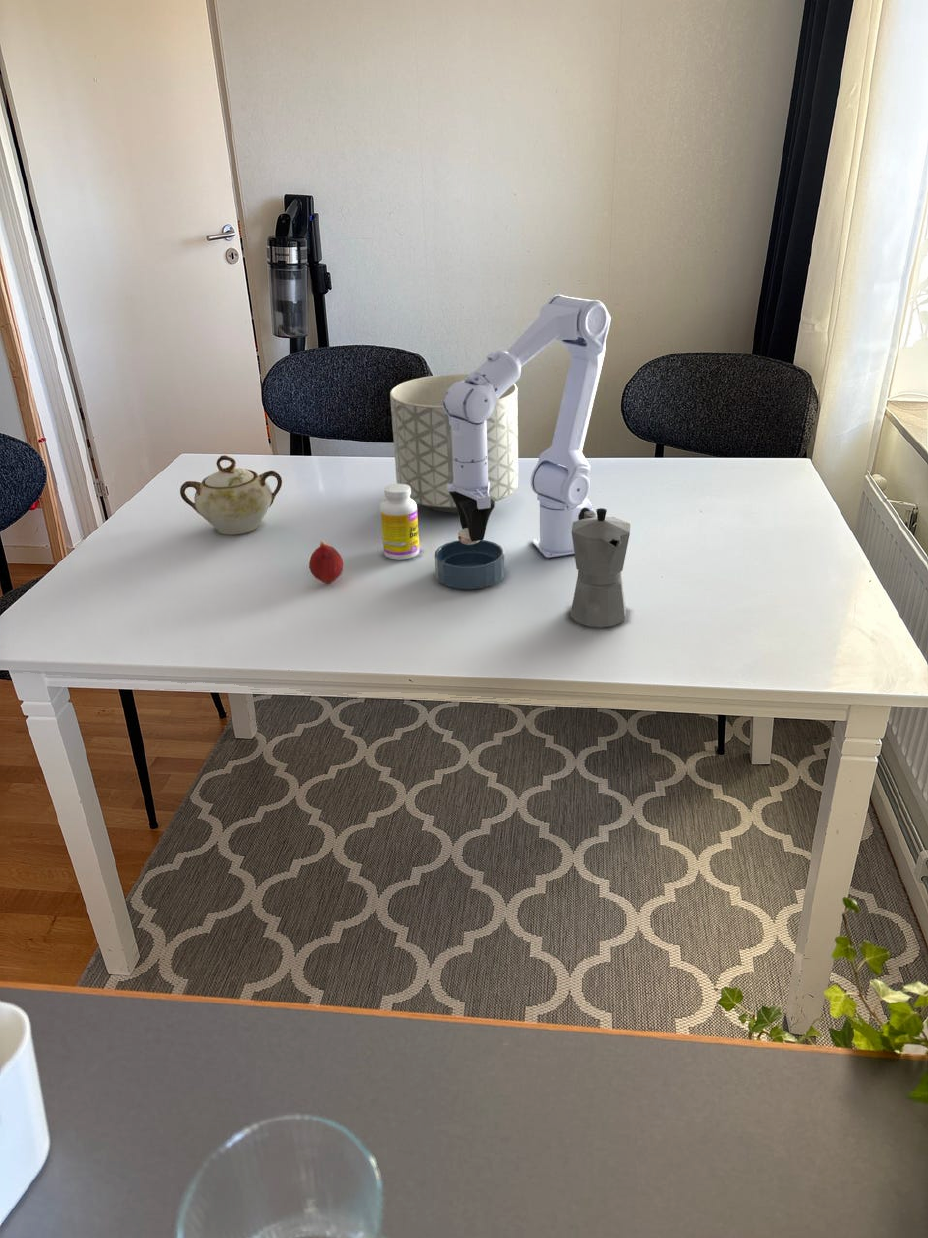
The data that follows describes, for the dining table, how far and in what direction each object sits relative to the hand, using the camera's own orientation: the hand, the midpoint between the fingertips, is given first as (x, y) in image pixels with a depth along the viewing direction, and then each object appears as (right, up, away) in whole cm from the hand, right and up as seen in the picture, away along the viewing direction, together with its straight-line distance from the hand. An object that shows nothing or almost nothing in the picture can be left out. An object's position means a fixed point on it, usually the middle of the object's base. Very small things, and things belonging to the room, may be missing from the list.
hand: (472, 534), depth 160 cm
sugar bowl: (-47, +4, +30) cm, 56 cm away
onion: (-25, -8, +5) cm, 27 cm away
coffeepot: (+20, -13, -9) cm, 25 cm away
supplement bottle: (-13, -2, +15) cm, 20 cm away
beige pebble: (0, -1, +1) cm, 2 cm away
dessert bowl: (0, -7, +5) cm, 9 cm away
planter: (-3, +10, +37) cm, 38 cm away
